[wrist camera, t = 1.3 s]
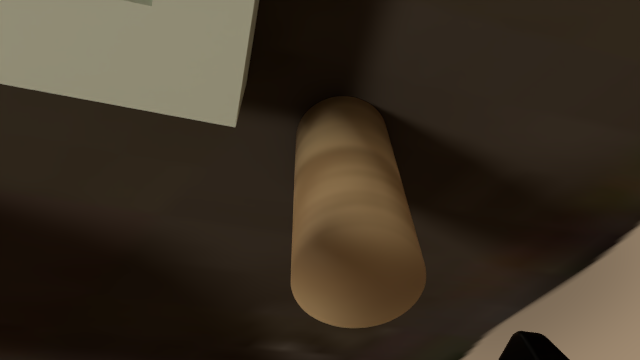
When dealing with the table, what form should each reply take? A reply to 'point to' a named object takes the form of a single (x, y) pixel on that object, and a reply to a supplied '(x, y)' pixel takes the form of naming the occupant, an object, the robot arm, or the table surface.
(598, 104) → the table surface
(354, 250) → the peg
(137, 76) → the socket block
